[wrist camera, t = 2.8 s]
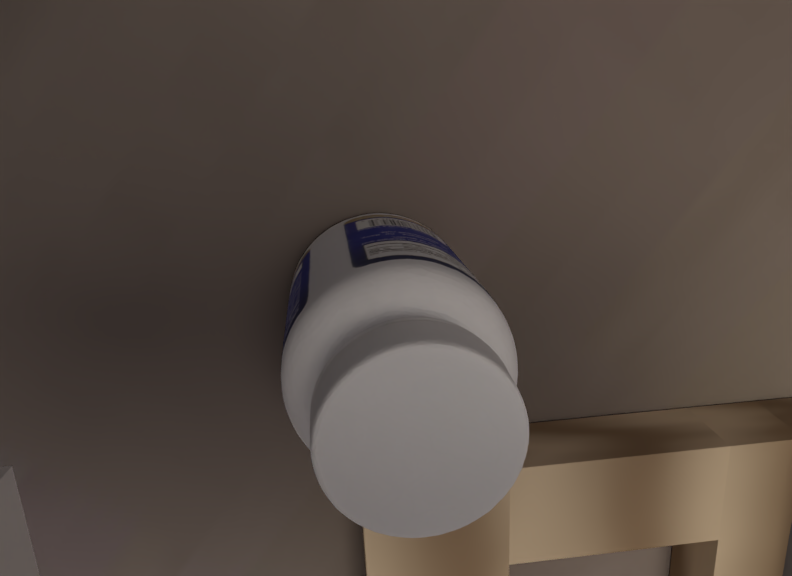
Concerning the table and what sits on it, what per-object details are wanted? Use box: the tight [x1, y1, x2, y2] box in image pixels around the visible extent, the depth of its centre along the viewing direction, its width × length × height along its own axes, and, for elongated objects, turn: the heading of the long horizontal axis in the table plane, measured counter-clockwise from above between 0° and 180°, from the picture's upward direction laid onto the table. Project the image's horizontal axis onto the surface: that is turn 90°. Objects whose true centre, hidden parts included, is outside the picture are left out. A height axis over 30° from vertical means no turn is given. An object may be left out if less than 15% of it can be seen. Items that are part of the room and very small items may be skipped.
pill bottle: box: [281, 213, 529, 538], centre depth 16 cm, size 5×5×9 cm
